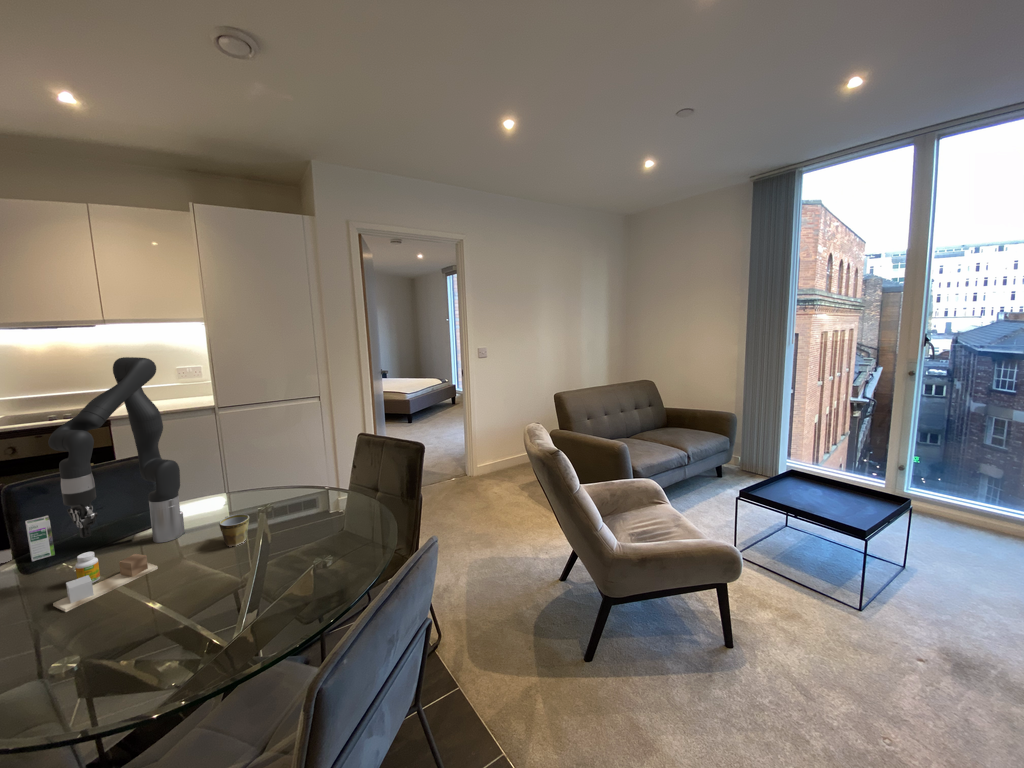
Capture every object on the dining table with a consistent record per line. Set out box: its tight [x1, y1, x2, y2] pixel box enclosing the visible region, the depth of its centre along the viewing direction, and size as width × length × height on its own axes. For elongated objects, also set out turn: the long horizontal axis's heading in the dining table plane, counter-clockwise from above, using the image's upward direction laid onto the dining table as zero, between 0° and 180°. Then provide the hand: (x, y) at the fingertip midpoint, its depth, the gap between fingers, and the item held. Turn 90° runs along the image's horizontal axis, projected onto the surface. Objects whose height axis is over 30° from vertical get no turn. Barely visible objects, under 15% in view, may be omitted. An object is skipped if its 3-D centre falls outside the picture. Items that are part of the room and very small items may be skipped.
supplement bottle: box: [74, 551, 101, 584], centre depth 136 cm, size 5×5×10 cm
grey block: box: [65, 575, 94, 603], centre depth 128 cm, size 5×5×5 cm
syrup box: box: [24, 515, 56, 562], centre depth 150 cm, size 6×6×14 cm
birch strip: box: [52, 562, 158, 613], centre depth 135 cm, size 24×7×1 cm, turn 160°
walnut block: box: [118, 553, 148, 577], centre depth 141 cm, size 5×5×5 cm
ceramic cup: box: [218, 513, 250, 548], centre depth 163 cm, size 13×10×10 cm
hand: (85, 536), depth 136 cm, fingers closed
